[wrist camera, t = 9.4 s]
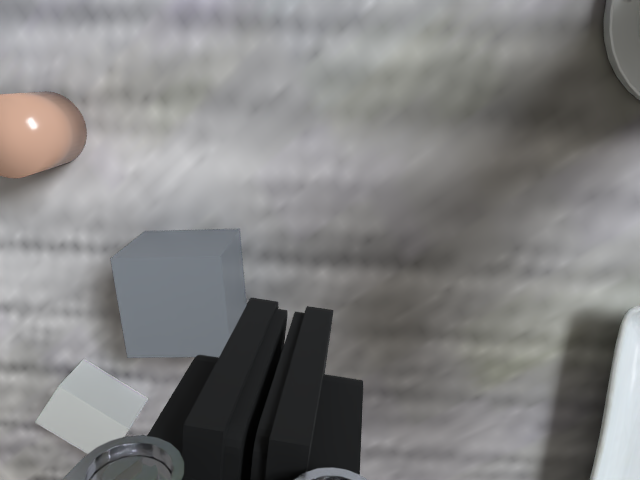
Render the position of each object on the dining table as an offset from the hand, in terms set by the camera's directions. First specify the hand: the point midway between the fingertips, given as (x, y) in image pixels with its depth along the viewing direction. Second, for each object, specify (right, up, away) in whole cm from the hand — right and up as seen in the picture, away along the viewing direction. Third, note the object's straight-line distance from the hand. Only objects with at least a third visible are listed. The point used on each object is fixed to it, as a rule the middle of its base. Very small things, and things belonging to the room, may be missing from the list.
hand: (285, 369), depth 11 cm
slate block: (-8, 0, +29) cm, 30 cm away
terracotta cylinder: (-18, +10, +26) cm, 33 cm away
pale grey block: (-17, -10, +33) cm, 38 cm away
